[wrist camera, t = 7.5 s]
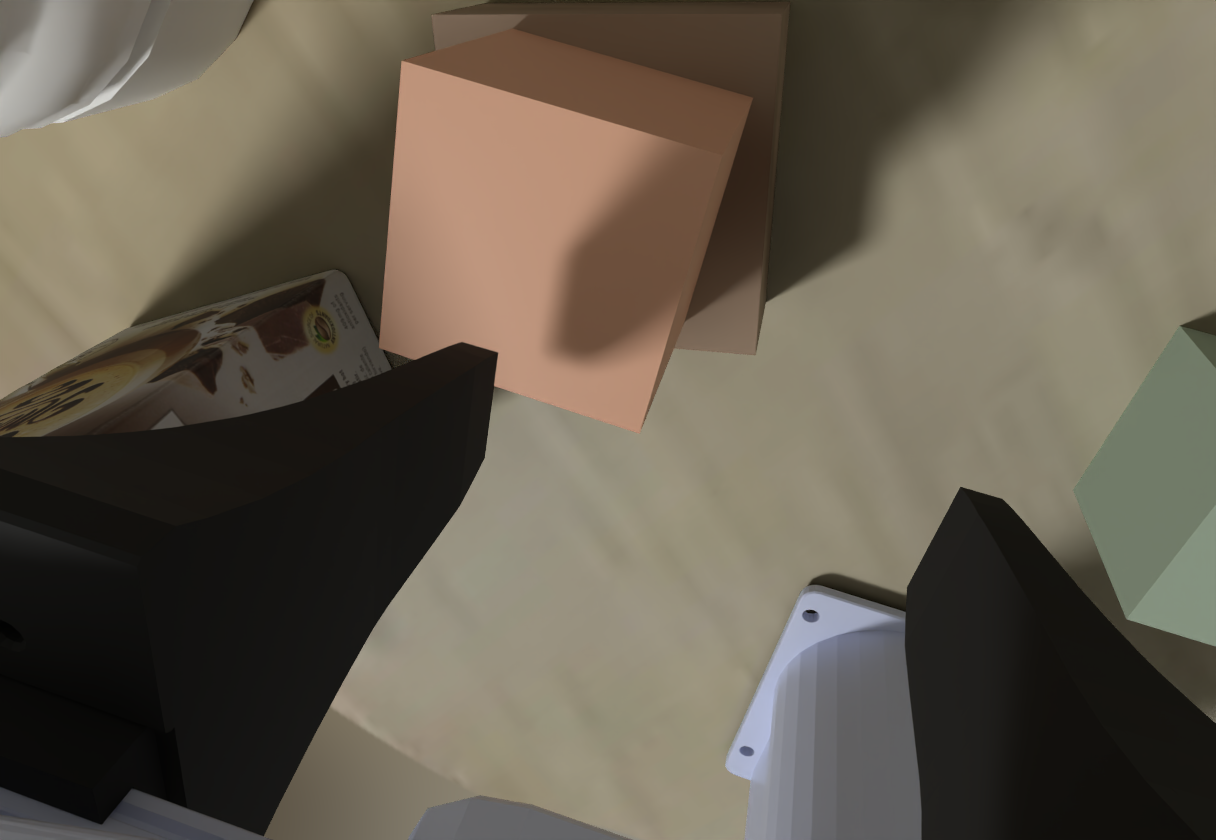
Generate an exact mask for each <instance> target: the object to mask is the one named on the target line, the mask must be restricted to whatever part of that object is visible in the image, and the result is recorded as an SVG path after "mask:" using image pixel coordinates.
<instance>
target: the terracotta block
mask: <svg viewBox="0 0 1216 840" xmlns="http://www.w3.org/2000/svg"><path fill="white" fill-rule="evenodd" d="M752 100H753V98H752V97H749V96H745V95H742V94H739V93H735V92H732V91H728V90H725V89H721V88H718V87H714V86H711V85H707V84H704V83H700V82H697V81H693V80H690V79H686V78H683V77H679V76H676V75H672V74H669V73H666V72H662V71H659V70H655V69H652V68H648V67H645V66H641V65H638V64H634V63H631V62H627V61H624V60H620V59H617V58H613V57H610V56H606V55H603V54H600V53H596V52H593V51H589V50H586V49H582V48H579V47H575V46H572V45H568V44H565V43H561V42H558V41H554V40H551V39H547V38H544V37H540V36H537V35H533V34H530V33H527V32H523V31H520V30H516V29H513V28H512V29H509V30H506V31H502V32H499V33H495V34H492V35H488V36H485V37H481V38H478V39H474V40H471V41H468V42H464V43H461V44H457V45H454V46H450V47H447V48H443V49H440V50H436V51H433V52H430V53H426V54H423V55H419V56H416V57H412V58H409V59H405V60H402V63H401V75H400V88H399V100H398V113H397V126H396V138H395V151H394V163H393V176H392V188H391V201H390V213H389V226H388V239H387V251H386V264H385V276H384V289H383V301H382V314H381V326H380V339H379V348H380V349H383V350H386V351H389V352H392V353H395V354H398V355H401V356H404V357H407V358H410V359H413V360H416V359H418V358H421V357H423V356H426V355H428V354H430V353H433V352H435V351H438V350H440V349H443V348H445V347H448V346H451V345H454V344H457V343H460V342H464V343H468V344H471V345H475V346H478V347H481V348H485V349H488V350H492V351H495V352H498V359H497V367H496V374H495V382H494V386H496V387H499V388H502V389H505V390H508V391H511V392H514V393H517V394H520V395H523V396H526V397H529V398H532V399H535V400H538V401H542V402H545V403H548V404H551V405H554V406H557V407H560V408H563V409H566V410H569V411H572V412H575V413H578V414H581V415H584V416H587V417H590V418H593V419H596V420H599V421H602V422H606V423H609V424H612V425H615V426H618V427H621V428H624V429H627V430H630V431H633V432H636V433H639V434H640V431H641V429H642V426H643V424H644V421H645V419H646V416H647V414H648V411H649V409H650V406H651V404H652V401H653V399H654V396H655V394H656V391H657V389H658V387H659V384H660V382H661V379H662V377H663V374H664V372H665V369H666V367H667V364H668V362H669V359H670V357H671V354H672V352H673V349H674V347H675V344H676V342H677V339H678V337H679V334H680V332H681V329H682V327H683V324H684V322H685V319H686V315H687V312H688V309H689V305H690V302H691V299H692V296H693V292H694V289H695V286H696V283H697V279H698V276H699V273H700V270H701V266H702V263H703V260H704V256H705V253H706V250H707V247H708V243H709V240H710V237H711V234H712V230H713V227H714V224H715V220H716V217H717V214H718V211H719V207H720V204H721V201H722V198H723V194H724V191H725V188H726V185H727V181H728V178H729V175H730V171H731V168H732V165H733V162H734V158H735V155H736V152H737V149H738V145H739V142H740V139H741V136H742V132H743V129H744V126H745V122H746V119H747V116H748V113H749V109H750V106H751V103H752Z"/></svg>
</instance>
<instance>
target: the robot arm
mask: <svg viewBox="0 0 1216 840" xmlns="http://www.w3.org/2000/svg"><path fill="white" fill-rule="evenodd" d="M497 359H498V352H495V351H492V350H488V349H485V348H481V347H478V346H475V345H471V344H468V343H464V342H460V343H457V344H454V345H451V346H448V347H445V348H443V349H440V350H438V351H435V352H433V353H430V354H428V355H426V356H423V357H421V358H418V359H416V360H414V361H411V362H409V363H406V364H404V365H401V366H399V367H396V368H394V369H391V370H389V371H386V372H384V373H381V374H379V375H376V376H374V377H371V378H369V379H366V380H363V381H360V382H357V383H354V384H351V385H348V386H346V387H343V388H340V389H337V390H334V391H331V392H328V393H325V394H322V395H319V396H317V397H314V398H310V399H307V400H303V401H300V402H296V403H293V404H289V405H286V406H282V407H278V408H274V409H269V410H265V411H261V412H257V413H253V414H248V415H243V416H239V417H233V418H227V419H221V420H215V421H209V422H203V423H197V424H191V425H185V426H179V427H172V428H164V429H155V430H146V431H136V432H124V433H112V434H99V435H80V436H41V437H0V840H271V839H269V838H266V837H264V834H265V832H266V830H267V828H268V826H269V824H270V822H271V820H272V818H273V816H274V814H275V811H276V809H277V807H278V805H279V803H280V801H281V799H282V797H283V795H284V793H285V792H286V790H287V788H288V785H289V784H290V782H291V780H292V778H293V776H294V774H295V772H296V770H297V768H298V766H299V764H300V762H301V760H302V758H303V756H304V754H305V752H306V750H307V748H308V746H309V745H310V743H311V741H312V738H313V737H314V735H315V733H316V731H317V729H318V727H319V725H320V724H321V722H322V720H323V718H324V716H325V714H326V713H327V711H328V709H329V707H330V705H331V703H332V701H333V700H334V698H335V696H336V694H337V692H338V690H339V688H340V687H341V685H342V683H343V681H344V679H345V677H346V676H347V674H348V672H349V670H350V669H351V667H352V665H353V663H354V661H355V660H356V658H357V656H358V654H359V653H360V651H361V649H362V647H363V645H364V644H365V642H366V640H367V638H368V637H369V635H370V633H371V631H372V630H373V628H374V626H375V625H376V623H377V622H378V620H379V619H380V617H381V616H382V614H383V613H384V611H385V610H386V608H387V607H388V605H389V604H390V602H391V601H392V600H393V598H394V597H395V595H396V594H397V593H398V591H399V590H400V589H401V587H402V586H403V584H404V583H405V582H406V580H407V579H408V577H409V576H410V575H411V573H412V572H413V571H414V569H415V568H416V566H417V565H418V564H419V562H420V561H421V560H422V558H423V557H424V555H425V554H426V553H427V551H428V550H429V548H430V547H431V546H432V544H433V543H434V542H435V540H436V539H437V537H438V536H439V535H440V533H441V532H442V530H443V529H444V528H445V526H446V525H447V523H448V522H449V521H450V519H451V518H452V516H453V515H454V513H455V512H456V510H457V509H458V508H459V506H460V504H461V502H462V501H463V499H464V497H465V495H466V493H467V491H468V489H469V488H470V486H471V484H472V482H473V480H474V478H475V476H476V474H477V472H478V470H479V468H480V466H481V464H482V462H483V460H484V458H485V451H486V443H487V436H488V428H489V420H490V413H491V405H492V397H493V390H494V382H495V374H496V367H497ZM806 610H814V611H816V612H817V613H814V614H811V613H807V612H805V611H806ZM746 746H747V747H746ZM725 766H726V768H727V770H728V771H730V772H731V773H732V774H734V775H737V776H740V777H743V778H746V779H749V780H751V783H750V792H749V802H748V812H747V821H746V831H745V840H1216V723H1215V722H1213V721H1212V720H1211V719H1210V718H1209V717H1208V716H1206V715H1205V714H1204V713H1203V712H1202V711H1201V710H1200V709H1199V708H1197V707H1196V706H1195V705H1194V704H1193V703H1192V702H1191V701H1190V700H1189V699H1188V698H1187V697H1185V696H1184V695H1183V694H1182V693H1181V692H1180V691H1179V690H1178V689H1177V688H1176V687H1174V686H1173V685H1172V684H1171V683H1170V682H1169V681H1168V680H1167V679H1166V678H1165V677H1164V676H1162V675H1161V674H1160V673H1159V672H1158V671H1157V670H1156V669H1155V668H1154V667H1153V666H1152V665H1151V664H1150V663H1149V662H1148V661H1147V660H1146V659H1145V658H1144V657H1143V656H1142V655H1141V654H1140V653H1139V652H1138V651H1137V650H1136V649H1135V648H1134V647H1133V646H1132V645H1131V643H1130V642H1129V641H1128V640H1127V639H1126V638H1125V637H1124V636H1123V635H1122V634H1121V633H1120V632H1119V631H1118V630H1117V629H1116V628H1115V627H1114V626H1113V625H1112V624H1111V623H1110V621H1109V620H1108V619H1107V618H1106V617H1105V616H1104V615H1103V614H1102V613H1101V612H1100V610H1099V609H1098V608H1097V607H1096V606H1095V605H1094V604H1093V603H1092V602H1091V600H1090V599H1089V598H1088V597H1087V596H1086V595H1085V594H1084V592H1083V591H1082V590H1081V589H1080V588H1079V587H1078V585H1077V584H1076V583H1075V582H1074V581H1073V580H1072V578H1071V577H1070V576H1069V575H1068V574H1067V573H1066V571H1065V570H1064V569H1063V568H1062V567H1061V565H1060V564H1059V563H1058V562H1057V561H1056V560H1055V558H1054V557H1053V556H1052V555H1051V554H1050V552H1049V551H1048V550H1047V549H1046V548H1045V546H1044V545H1043V544H1042V543H1041V542H1040V540H1039V539H1038V538H1037V537H1036V536H1035V534H1034V533H1033V532H1032V531H1031V530H1030V528H1029V527H1028V526H1027V525H1026V524H1025V523H1024V521H1023V520H1022V519H1021V518H1020V517H1019V516H1018V515H1017V513H1016V512H1015V511H1014V510H1013V509H1012V508H1011V507H1010V506H1009V505H1008V504H1007V503H1006V502H1005V501H1004V500H1003V499H1001V498H997V497H994V496H990V495H987V494H983V493H980V492H976V491H973V490H970V489H966V488H963V487H960V489H959V491H958V493H957V494H956V496H955V498H954V500H953V502H952V504H951V506H950V508H949V510H948V511H947V513H946V515H945V517H944V519H943V521H942V523H941V525H940V526H939V528H938V530H937V532H936V534H935V536H934V538H933V540H932V541H931V543H930V545H929V547H928V549H927V551H926V553H925V555H924V556H923V558H922V560H921V562H920V564H919V566H918V568H917V570H916V571H915V573H914V575H913V577H912V579H911V581H910V583H909V585H908V586H907V599H906V612H904V611H901V610H898V609H894V608H891V607H888V606H885V605H882V604H878V603H875V602H872V601H869V600H866V599H863V598H859V597H856V596H853V595H850V594H847V593H843V592H840V591H837V590H834V589H831V588H827V587H824V586H820V585H810V586H807V587H805V588H804V589H803V590H802V591H801V593H800V595H799V597H798V599H797V601H796V604H795V606H794V608H793V610H792V612H791V615H790V617H789V619H788V621H787V623H786V626H785V628H784V630H783V632H782V634H781V637H780V639H779V641H778V643H777V646H776V648H775V650H774V652H773V654H772V657H771V659H770V661H769V663H768V665H767V668H766V670H765V672H764V674H763V676H762V679H761V681H760V683H759V685H758V687H757V690H756V692H755V694H754V696H753V698H752V701H751V703H750V705H749V707H748V710H747V712H746V714H745V716H744V718H743V721H742V723H741V725H740V727H739V729H738V732H737V734H736V736H735V738H734V740H733V743H732V745H731V747H730V749H729V751H728V754H727V757H726V765H725ZM408 840H632V839H629V838H626V837H623V836H620V835H617V834H614V833H612V832H608V831H606V830H603V829H600V828H597V827H594V826H592V825H589V824H586V823H583V822H580V821H577V820H574V819H572V818H569V817H566V816H563V815H560V814H557V813H554V812H552V811H549V810H546V809H543V808H540V807H537V806H534V805H531V804H525V803H520V802H514V801H509V800H503V799H498V798H492V797H487V796H481V795H480V796H475V797H471V798H467V799H463V800H459V801H454V802H451V803H446V804H442V805H438V806H435V807H431V808H428V809H427V810H426V812H425V813H424V815H423V816H422V818H421V819H420V821H419V822H418V824H417V825H416V827H415V828H414V830H413V831H412V833H411V834H410V836H409V839H408Z"/></svg>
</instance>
